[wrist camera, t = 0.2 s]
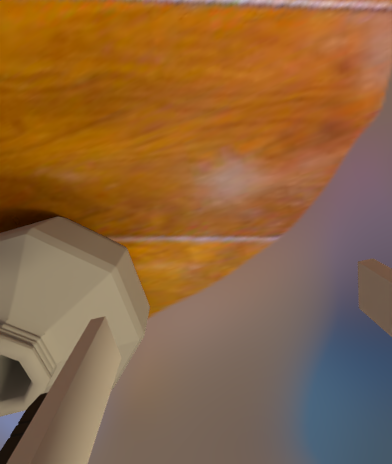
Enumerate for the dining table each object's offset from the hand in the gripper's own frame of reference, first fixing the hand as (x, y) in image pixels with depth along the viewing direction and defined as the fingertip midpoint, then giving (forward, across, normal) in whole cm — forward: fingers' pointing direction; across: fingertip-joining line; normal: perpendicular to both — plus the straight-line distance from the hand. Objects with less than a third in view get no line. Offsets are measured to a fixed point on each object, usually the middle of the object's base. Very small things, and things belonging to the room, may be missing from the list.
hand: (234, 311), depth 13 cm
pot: (+28, -25, -9) cm, 39 cm away
